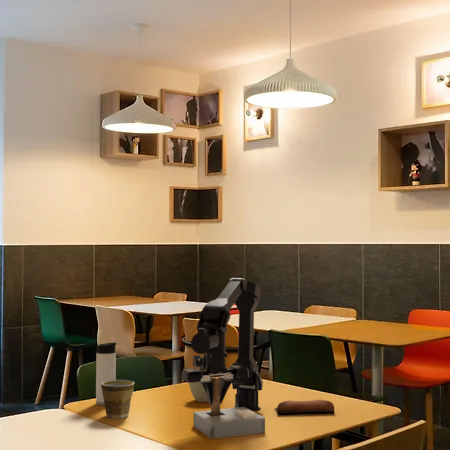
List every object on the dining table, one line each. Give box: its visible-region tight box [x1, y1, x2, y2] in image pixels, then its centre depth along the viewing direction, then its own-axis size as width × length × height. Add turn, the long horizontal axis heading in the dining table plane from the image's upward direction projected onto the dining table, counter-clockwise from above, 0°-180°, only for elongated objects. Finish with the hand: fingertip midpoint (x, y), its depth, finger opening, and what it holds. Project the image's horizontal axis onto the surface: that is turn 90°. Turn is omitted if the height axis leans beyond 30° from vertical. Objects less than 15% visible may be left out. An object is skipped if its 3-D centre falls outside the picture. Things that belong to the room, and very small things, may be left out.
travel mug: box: [95, 341, 117, 407], centre depth 222 cm, size 6×7×20 cm
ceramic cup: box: [101, 379, 135, 420], centre depth 206 cm, size 13×10×10 cm
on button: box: [237, 409, 256, 419], centre depth 189 cm, size 4×5×2 cm
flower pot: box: [188, 377, 218, 403], centre depth 226 cm, size 10×10×7 cm
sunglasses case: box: [273, 399, 335, 416], centre depth 211 cm, size 18×7×7 cm, turn 96°
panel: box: [192, 407, 266, 440], centre depth 191 cm, size 16×14×4 cm
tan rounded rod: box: [210, 377, 221, 416], centre depth 192 cm, size 3×3×11 cm
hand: (215, 404), depth 192 cm, fingers closed on tan rounded rod, 3 cm apart
